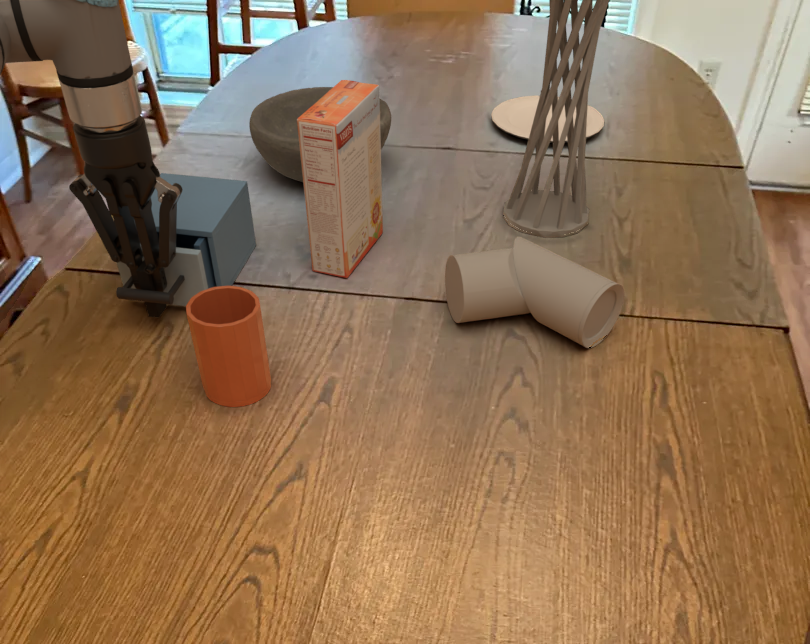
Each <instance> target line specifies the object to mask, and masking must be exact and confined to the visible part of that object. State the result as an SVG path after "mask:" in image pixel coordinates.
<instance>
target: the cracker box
mask: <svg viewBox="0 0 810 644" xmlns="http://www.w3.org/2000/svg"><path fill="white" fill-rule="evenodd" d="M332 87H333V88H332V89H331V90H330V91H328V92H327V93H326V94H325V95H324V96H323V97H322V98H321V99H319V100H318V101H317V102H316V103H315V104H314V105H313V106H311V107H310V108H309V109H308V110H307V111H306V112H304V113H303V114H302V115H301V116H300V117H299V118H297V127H298V136H299V146H300V155H301V165H302V175H303V182H302V183H303V193H304V203H305V211H306V221H307V222H306V223H307V231H308V240H309V251H310V260H311V269H312V272H316V273H321V274H325V275H331V276H335V277H340V278H344V279H348V278H349V277H350V276H351V274H352V273H353V272H354V270H355V269H356V268H357V266H358V265H359V264H360V262H361V261H362V260H363V259H364V257H365V256H366V255H367V254H368V253H369V251H370V250H371V249H372V248H373V246H374V245H375V244H376V242H377V241H378V240H379V239H380V237H381V236H382V234H383V232H384V222H383V182H382V181H383V180H382V149H381V136H380V99H381V98H380V85H379V84H375V83H367V82H360V81H355V80H350V79H349V80H348V79H340V81H338V82H337V83H336V84H335V85H334V86H332ZM379 98H380V99H379Z"/></svg>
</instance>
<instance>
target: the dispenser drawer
mask: <svg viewBox="0 0 810 644" xmlns="http://www.w3.org/2000/svg"><path fill="white" fill-rule="evenodd" d="M157 234H158V238H159V232H157ZM138 237H139V236H138ZM139 241H140V240H139ZM140 245H141V244H140ZM141 249H142V248H141ZM142 261H144V257H143V258H142ZM116 266H117V268H118V273H119V277H120V279H121V283H122V286H118V287H116V289H115V290H116V291H115V296H116V298H117V299H118V300H127V301H133V302H141V303H145V302H152V303H161V304H167V306H168V305H169V306H175V307H176V306H177V307H185V308H186V305H187V303H188V302H189V300H190V299H191V297H193V296H194V295H196V294H197V293H199V292H200V291H203V290H206V289H209V288H212V287H216V280H215V275H214V270H213V265H212V259H211V254H210V249H209V243H208V238H207V237H201V236H192V235H182V234H176V256H175V257H174V259H173V260H172V262H171V263H170V264H169V266H168V267H166V268H165V267H164V271H165V275H166V280H167V287H166V288H165V290H164V291H163V292H159V291H150V290H141V289H136V288H135V286H134V283H133V279H132V276H131V272H130V269H129V267H128V266H127V265H126V264H125V263H122V262H118V263H116Z"/></svg>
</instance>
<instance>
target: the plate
mask: <svg viewBox="0 0 810 644" xmlns="http://www.w3.org/2000/svg"><path fill="white" fill-rule="evenodd" d="M559 97H560V96H558V99H559ZM539 98H540V95H524V96H519V97H514V98H510V99H507V100H504V101H502V102H500V103H499V104H498V105H497V106H495V107H494V108H493V109H492V111H491V114H490V115H491V120H492V123H493V124H494V125H495V126H496V127H497V128H498V129H499V130H501V131H503V132H504V133H506V134H508V135H511V136H514V137H516V138H518V139H523V140H527V141H528V139H529V136H530V132H531V128H532V124H533V120H534V117H535V113H536V109H537V105H538V101H539ZM551 118H552V105H551V107H550V110H549V112H548V115H547V118H546V125H545V133H546V131H547V128H548V125H549V123H550V120H551ZM575 119H576V107H575V110H574V114H573V124H574V125H575ZM565 121H566V117H565V105H564V107H563V110H562V112H561V115H560V118H559V120H558V128H559V140H560V137H561V134H562V131H563V127H564V124H565ZM604 126H605V119H604V117H603V115H602V113H600V112H599V111H598V110H597V109H596V108H595V107H593V106H591V105H589V104H588V106H587V127H586V139H589V138H591V137H594V136H596V135H598V134H599V133H600V132H601V131H602V129H603V128H604ZM544 136H545V134H544ZM550 143H552V144H553V136H552V138H551V141H550ZM550 143H549V144H550ZM565 143H568V141H567V136H566V140H565Z"/></svg>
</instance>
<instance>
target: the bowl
mask: <svg viewBox="0 0 810 644" xmlns="http://www.w3.org/2000/svg"><path fill="white" fill-rule="evenodd" d="M333 87H334V86H314V87H305V88H304V87H303V88H298V89H293V90H289V91H285V92H282V93H281V92H280V93H278V94H276V95H273V96H270V97H269V98H266V99H265V100H263V101H262V102H260V103H259V104H257V105H256V106H255V107H254V109H252V111H251V114H250V118H249V122H248V123H249V133H250V137H251V140H252V142H253V145H254V146H255V149H256V150H257V152H258V153H259V155H260V156H261V157H262V159H263V160H264V161H265V162H266V164H267V165H269V166H270V167H271V168H272V169H273V170H275V171H276V172H278V173H279V174H281V176H284V177H287V178H288V179H291V180H293V181H297V182H301V183H303V175H302V165H301V155H300V146H299V136H298V127H297V118H299V117H300V116H301V115H302V114H303V113H304V112H306V111H307V110H308V109H309V108H310V107H311V106H313V105H314V104H315V103H316V102H317V101H318V100H319V99H321V98H322V97H323V96H324V95H325V94H326V93H327V92H328V91H330V90H331V89H332V88H333ZM379 99H380V136H381V150H383V147H384V145H385V143H386V141H387V139H388V136H389V133H390V130H391V126H392V112H391V110H390V107H389V104H388V103H387V102H386V101H385V100H383V99H382V98H380V97H379Z"/></svg>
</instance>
